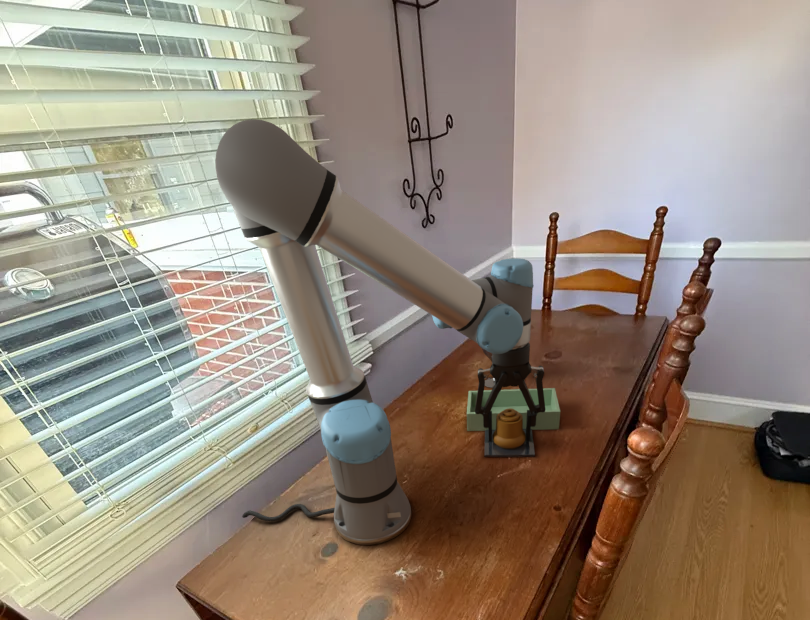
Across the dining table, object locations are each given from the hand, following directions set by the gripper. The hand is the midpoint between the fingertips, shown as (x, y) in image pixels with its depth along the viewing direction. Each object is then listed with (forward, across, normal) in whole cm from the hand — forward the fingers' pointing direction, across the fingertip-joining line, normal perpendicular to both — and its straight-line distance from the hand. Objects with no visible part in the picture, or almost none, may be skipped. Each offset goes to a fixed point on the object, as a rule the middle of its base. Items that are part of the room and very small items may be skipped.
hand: (509, 438), depth 109 cm
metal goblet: (+2, +3, -32) cm, 33 cm away
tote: (+1, -1, -12) cm, 12 cm away
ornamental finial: (+1, 0, 0) cm, 1 cm away
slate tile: (+1, 0, 0) cm, 1 cm away
